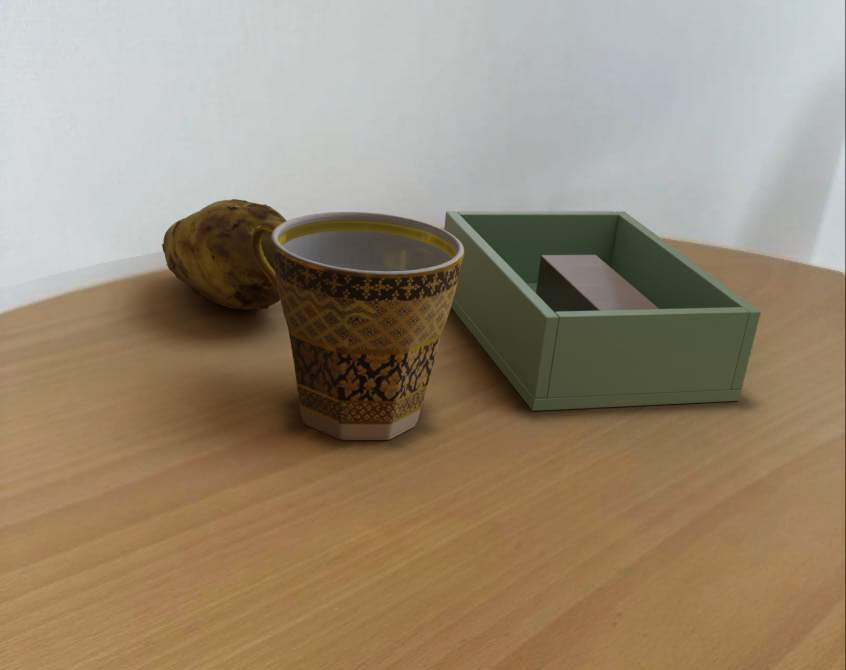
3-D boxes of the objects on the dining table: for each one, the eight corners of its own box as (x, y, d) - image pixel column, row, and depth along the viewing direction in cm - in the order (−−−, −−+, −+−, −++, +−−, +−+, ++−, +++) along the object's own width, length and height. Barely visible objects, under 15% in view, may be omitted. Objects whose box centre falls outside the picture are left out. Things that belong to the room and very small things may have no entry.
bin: (611, 287, 86) (624, 211, 83) (739, 401, 71) (761, 311, 68) (438, 291, 83) (445, 210, 80) (532, 411, 67) (546, 317, 64)
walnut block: (596, 254, 78) (675, 321, 68) (586, 310, 80) (662, 384, 70) (540, 254, 76) (613, 323, 67) (532, 312, 79) (601, 386, 69)
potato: (280, 276, 83) (282, 163, 78) (307, 348, 72) (311, 221, 68) (162, 276, 81) (157, 160, 76) (171, 350, 70) (167, 219, 66)
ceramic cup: (480, 415, 66) (501, 244, 61) (372, 476, 59) (385, 288, 54) (308, 349, 72) (313, 188, 67) (191, 396, 65) (187, 220, 60)
